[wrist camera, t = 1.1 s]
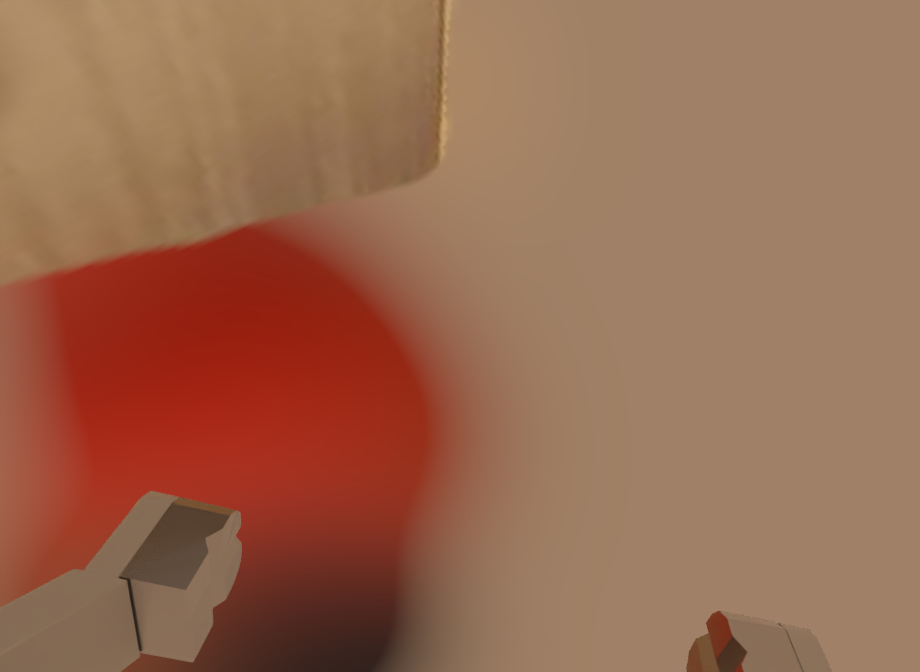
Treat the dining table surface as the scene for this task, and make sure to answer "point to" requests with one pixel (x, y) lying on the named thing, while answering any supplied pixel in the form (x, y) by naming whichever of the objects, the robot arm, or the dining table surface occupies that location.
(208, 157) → the dining table surface
